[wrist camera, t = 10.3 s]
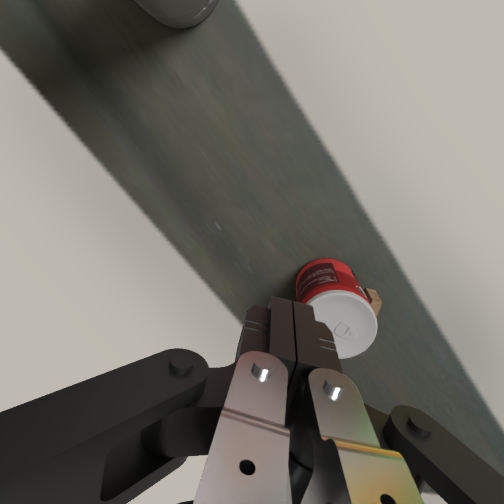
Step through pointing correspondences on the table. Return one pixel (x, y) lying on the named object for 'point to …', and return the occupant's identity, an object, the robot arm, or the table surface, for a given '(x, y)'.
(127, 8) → the table surface
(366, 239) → the table surface
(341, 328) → the canned food
